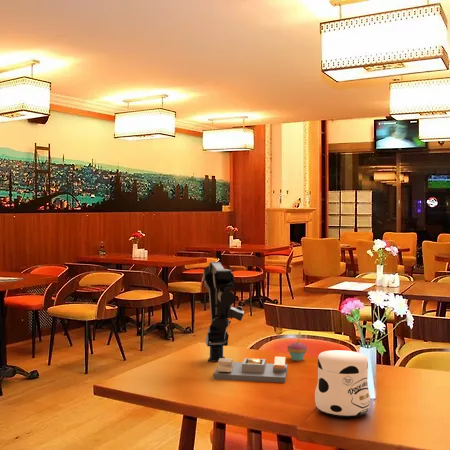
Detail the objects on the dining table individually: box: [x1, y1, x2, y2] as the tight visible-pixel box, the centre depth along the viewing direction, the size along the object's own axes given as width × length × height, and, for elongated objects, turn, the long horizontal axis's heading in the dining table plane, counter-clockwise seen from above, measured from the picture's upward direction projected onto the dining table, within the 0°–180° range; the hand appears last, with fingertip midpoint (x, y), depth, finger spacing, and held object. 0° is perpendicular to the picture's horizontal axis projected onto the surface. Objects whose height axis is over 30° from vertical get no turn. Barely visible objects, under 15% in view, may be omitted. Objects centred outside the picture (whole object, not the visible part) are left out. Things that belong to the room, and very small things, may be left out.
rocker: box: [273, 356, 286, 369], centre depth 227 cm, size 7×4×1 cm, turn 171°
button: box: [248, 358, 261, 364], centre depth 228 cm, size 5×5×3 cm
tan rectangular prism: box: [217, 358, 234, 372], centre depth 225 cm, size 4×5×4 cm
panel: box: [212, 357, 288, 384], centre depth 228 cm, size 18×27×5 cm, turn 81°
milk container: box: [314, 349, 371, 419], centre depth 187 cm, size 17×17×18 cm
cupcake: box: [286, 331, 308, 362], centre depth 250 cm, size 9×8×12 cm
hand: (222, 339), depth 235 cm, fingers closed
